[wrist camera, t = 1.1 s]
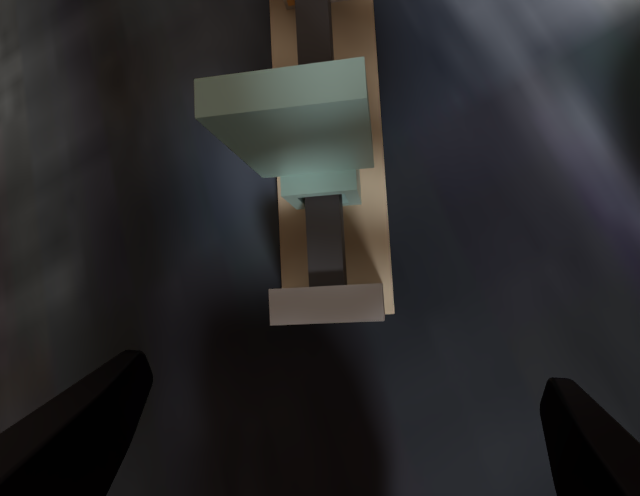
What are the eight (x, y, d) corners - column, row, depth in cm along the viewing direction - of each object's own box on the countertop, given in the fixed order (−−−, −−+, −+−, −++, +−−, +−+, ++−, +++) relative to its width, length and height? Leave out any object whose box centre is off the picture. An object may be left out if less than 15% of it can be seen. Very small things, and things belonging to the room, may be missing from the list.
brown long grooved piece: (394, 312, 24) (396, 321, 17) (287, 317, 24) (254, 327, 18) (371, -27, 26) (366, -126, 19) (272, -12, 26) (238, -101, 20)
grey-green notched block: (377, 203, 22) (369, 129, 12) (281, 210, 23) (195, 148, 12) (373, 146, 22) (362, 25, 12) (279, 155, 23) (192, 49, 13)
